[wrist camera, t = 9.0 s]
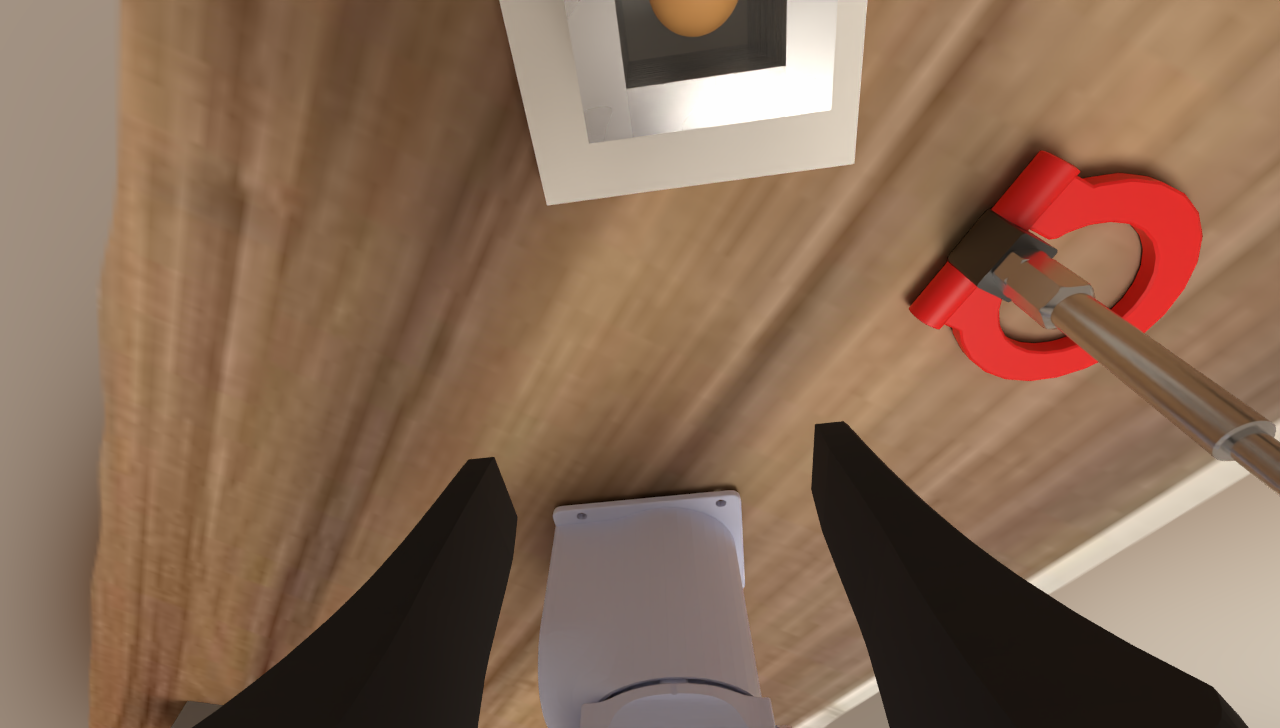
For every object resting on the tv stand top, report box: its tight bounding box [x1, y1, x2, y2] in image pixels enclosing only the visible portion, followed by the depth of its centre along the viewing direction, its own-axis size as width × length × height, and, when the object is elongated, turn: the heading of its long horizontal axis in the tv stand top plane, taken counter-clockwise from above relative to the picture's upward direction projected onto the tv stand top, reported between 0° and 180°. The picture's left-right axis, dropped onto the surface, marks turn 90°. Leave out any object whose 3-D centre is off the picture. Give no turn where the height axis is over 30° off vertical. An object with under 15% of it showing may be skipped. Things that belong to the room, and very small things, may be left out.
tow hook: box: [909, 150, 1280, 496], centre depth 16 cm, size 8×13×9 cm
